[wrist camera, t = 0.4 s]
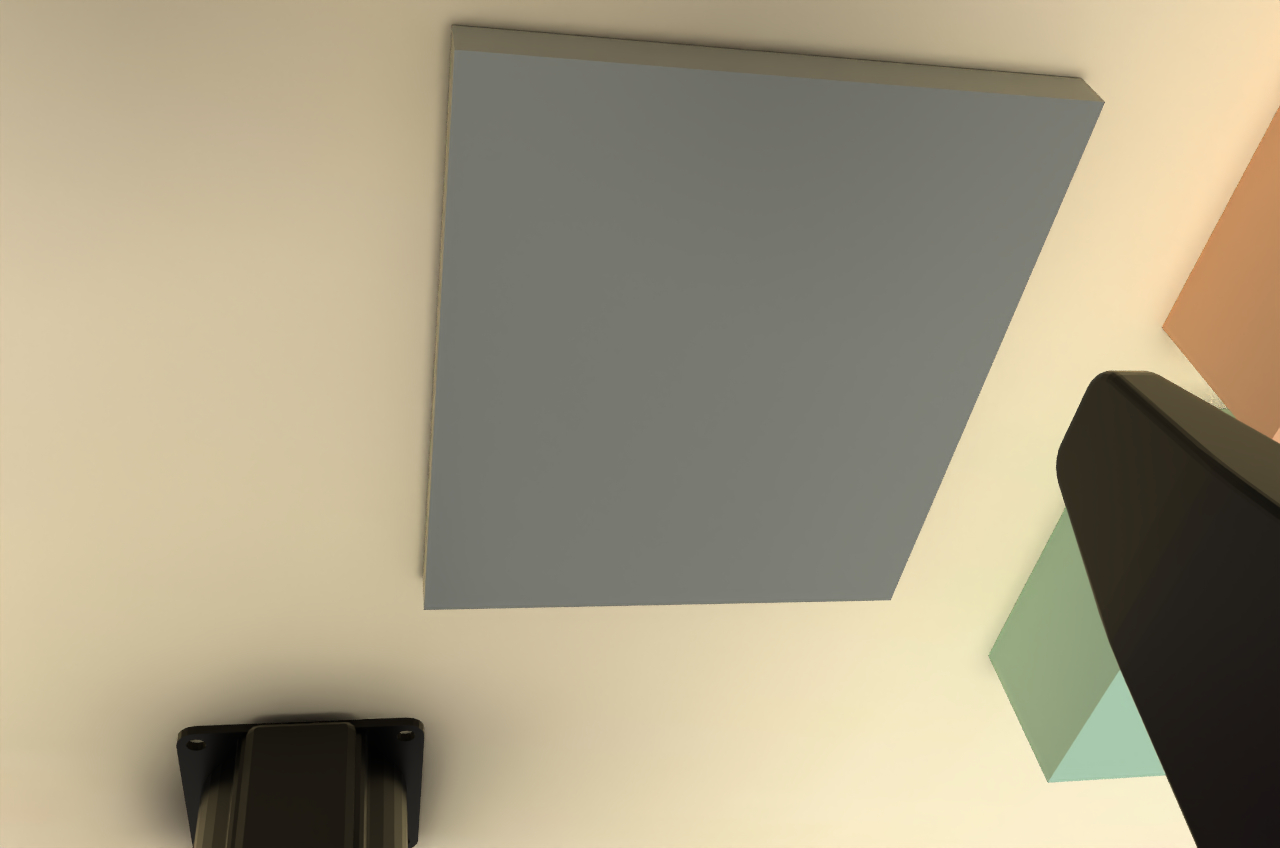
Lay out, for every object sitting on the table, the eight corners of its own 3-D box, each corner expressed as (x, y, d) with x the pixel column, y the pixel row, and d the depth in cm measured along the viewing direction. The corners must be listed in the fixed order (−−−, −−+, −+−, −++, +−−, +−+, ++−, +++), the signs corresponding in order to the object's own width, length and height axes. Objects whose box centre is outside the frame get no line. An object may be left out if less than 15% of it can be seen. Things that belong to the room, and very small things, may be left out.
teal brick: (1129, 644, 36) (1203, 772, 33) (985, 649, 35) (1047, 782, 32) (1282, 404, 30) (1392, 531, 27) (1114, 402, 29) (1206, 533, 26)
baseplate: (878, 571, 32) (890, 600, 31) (422, 578, 29) (423, 610, 28) (1082, 78, 23) (1104, 101, 22) (452, 24, 20) (454, 49, 20)
